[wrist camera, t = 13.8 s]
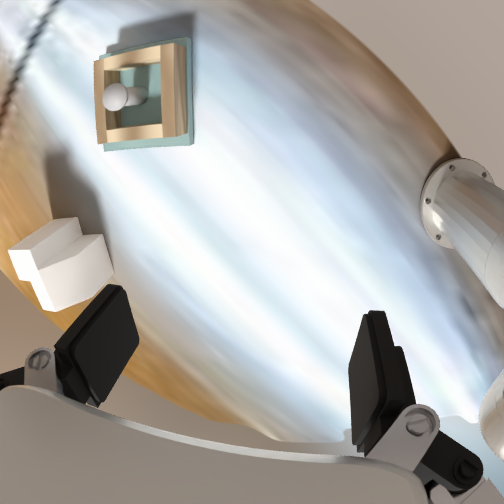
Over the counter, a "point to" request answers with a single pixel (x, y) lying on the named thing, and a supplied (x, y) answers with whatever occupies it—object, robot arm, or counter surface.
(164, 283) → the counter surface
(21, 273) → the corner bracket
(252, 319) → the counter surface
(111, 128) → the ring
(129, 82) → the lid with knob
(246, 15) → the counter surface
